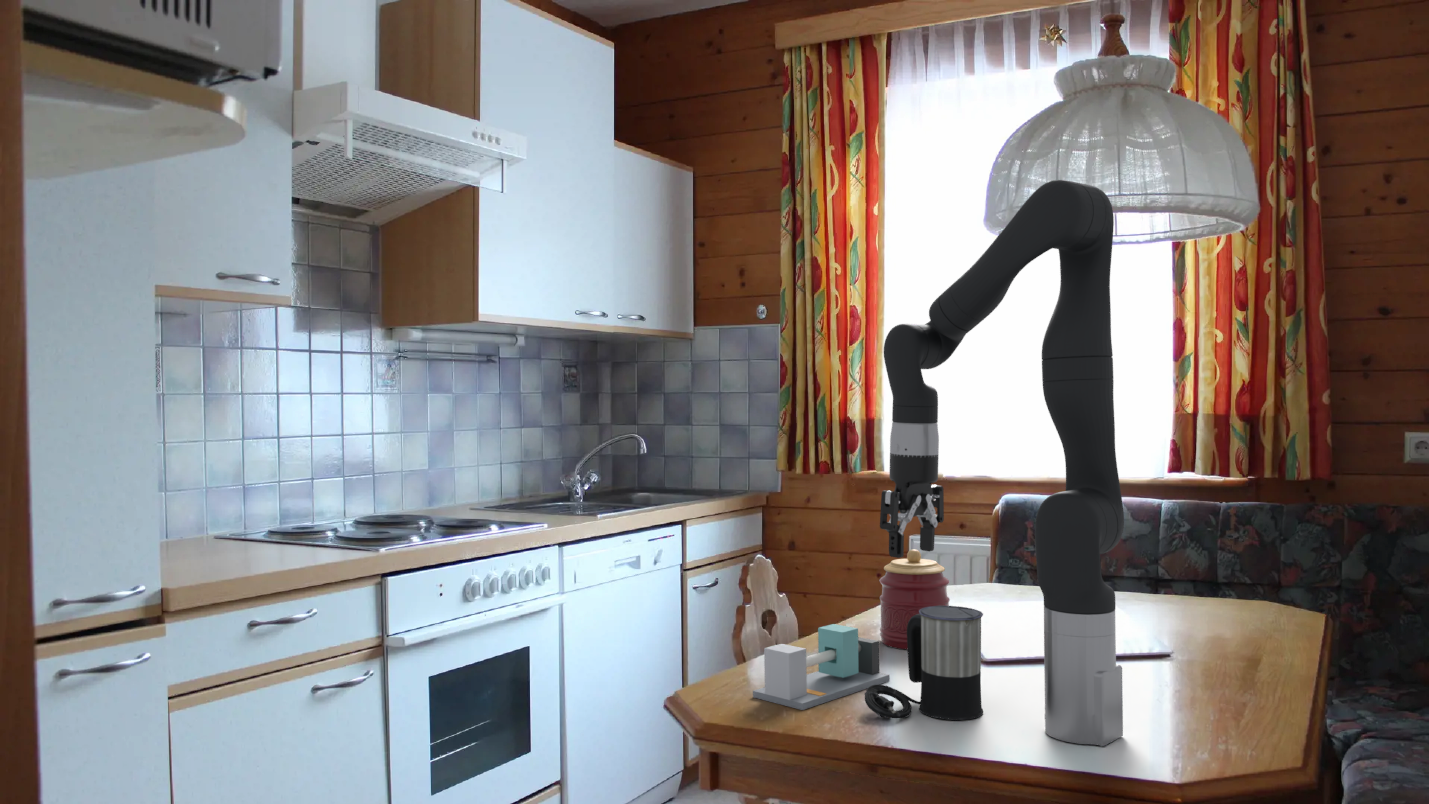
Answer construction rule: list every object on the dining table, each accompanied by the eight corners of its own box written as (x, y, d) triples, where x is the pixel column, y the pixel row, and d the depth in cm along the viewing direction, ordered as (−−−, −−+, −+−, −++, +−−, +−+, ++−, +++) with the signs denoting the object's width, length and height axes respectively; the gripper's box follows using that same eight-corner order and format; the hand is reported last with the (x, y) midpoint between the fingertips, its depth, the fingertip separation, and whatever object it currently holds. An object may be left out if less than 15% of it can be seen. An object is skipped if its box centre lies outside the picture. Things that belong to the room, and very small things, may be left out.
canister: (931, 654, 188) (930, 556, 188) (867, 645, 195) (866, 550, 195) (961, 641, 198) (960, 547, 198) (899, 632, 206) (898, 542, 206)
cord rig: (889, 680, 170) (889, 631, 170) (802, 710, 155) (801, 656, 155) (840, 670, 178) (840, 623, 178) (752, 697, 162) (752, 645, 162)
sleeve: (858, 673, 169) (858, 628, 169) (843, 677, 166) (842, 632, 166) (834, 667, 172) (833, 624, 172) (818, 672, 169) (818, 627, 169)
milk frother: (996, 712, 153) (995, 611, 153) (933, 737, 142) (932, 627, 142) (916, 693, 163) (915, 598, 163) (852, 714, 153) (850, 613, 153)
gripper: (908, 455, 157) (906, 563, 157) (959, 450, 167) (956, 551, 168) (867, 452, 162) (865, 556, 163) (919, 447, 172) (917, 545, 173)
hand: (911, 553), depth 165 cm, fingers open, 8 cm apart
